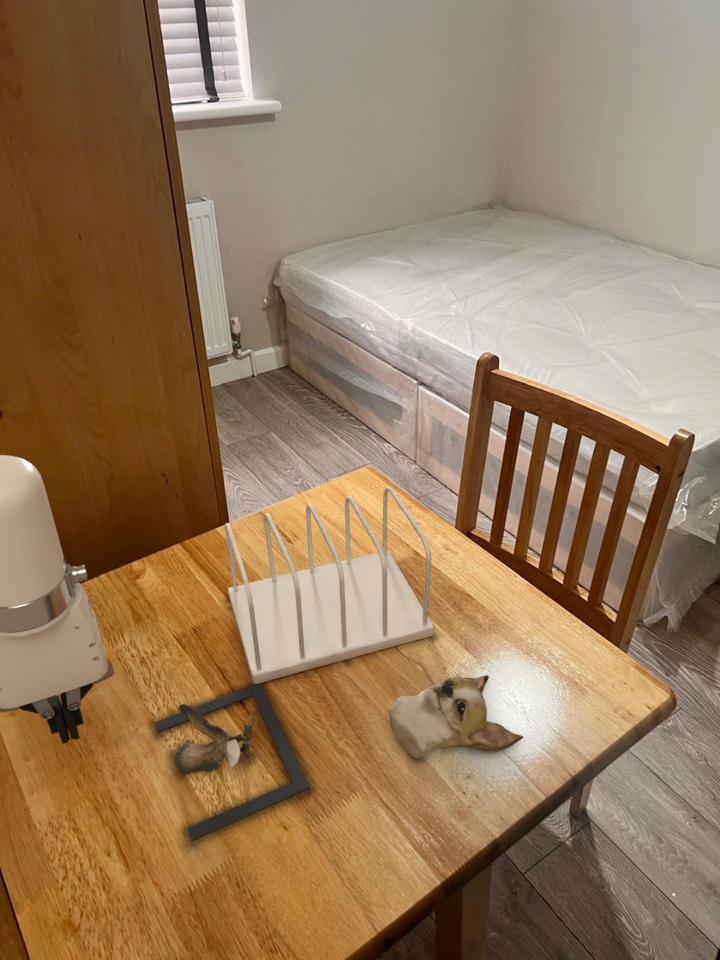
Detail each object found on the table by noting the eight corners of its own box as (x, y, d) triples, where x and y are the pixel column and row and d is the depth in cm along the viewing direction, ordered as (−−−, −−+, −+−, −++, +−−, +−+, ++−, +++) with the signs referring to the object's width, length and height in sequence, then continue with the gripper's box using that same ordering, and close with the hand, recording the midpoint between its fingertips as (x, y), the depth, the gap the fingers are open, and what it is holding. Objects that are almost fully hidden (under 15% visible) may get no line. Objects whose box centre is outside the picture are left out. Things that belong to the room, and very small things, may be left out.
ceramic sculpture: (375, 665, 84) (492, 639, 88) (371, 713, 89) (482, 687, 93) (407, 741, 76) (534, 709, 80) (401, 789, 81) (521, 757, 85)
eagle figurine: (255, 711, 89) (180, 704, 88) (256, 706, 82) (175, 699, 81) (246, 778, 86) (169, 772, 85) (246, 779, 79) (163, 772, 78)
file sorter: (253, 686, 93) (239, 596, 84) (228, 598, 107) (214, 512, 98) (434, 636, 99) (438, 547, 91) (388, 559, 113) (388, 475, 104)
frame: (191, 841, 77) (191, 840, 77) (155, 723, 89) (155, 722, 89) (309, 788, 82) (309, 787, 81) (260, 683, 94) (260, 681, 94)
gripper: (106, 544, 68) (137, 678, 78) (-74, 591, 62) (-15, 728, 73) (122, 595, 62) (153, 732, 72) (-74, 651, 57) (-11, 790, 67)
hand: (69, 730), depth 72 cm, fingers closed
